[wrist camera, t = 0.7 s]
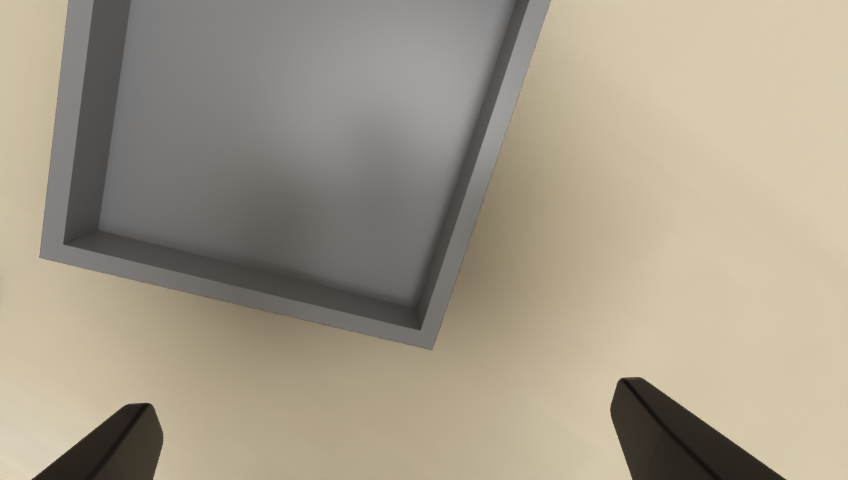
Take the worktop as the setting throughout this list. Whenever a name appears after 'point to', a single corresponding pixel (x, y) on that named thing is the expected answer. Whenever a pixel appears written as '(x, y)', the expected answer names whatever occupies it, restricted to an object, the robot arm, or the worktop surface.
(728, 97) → the worktop surface
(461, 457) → the worktop surface
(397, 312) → the tray
